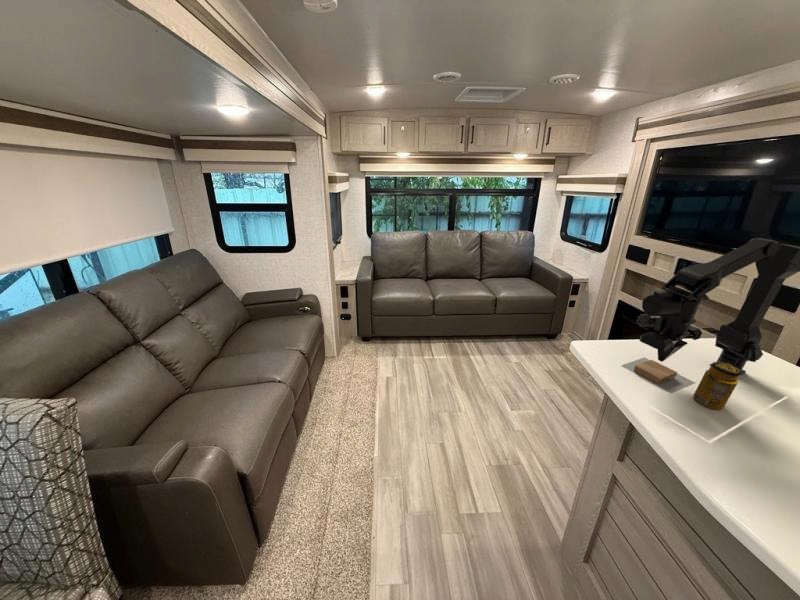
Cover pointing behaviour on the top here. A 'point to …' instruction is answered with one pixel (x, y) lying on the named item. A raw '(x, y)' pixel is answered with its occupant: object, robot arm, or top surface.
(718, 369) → the condiment
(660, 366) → the wooden block
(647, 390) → the top surface
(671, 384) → the mat
